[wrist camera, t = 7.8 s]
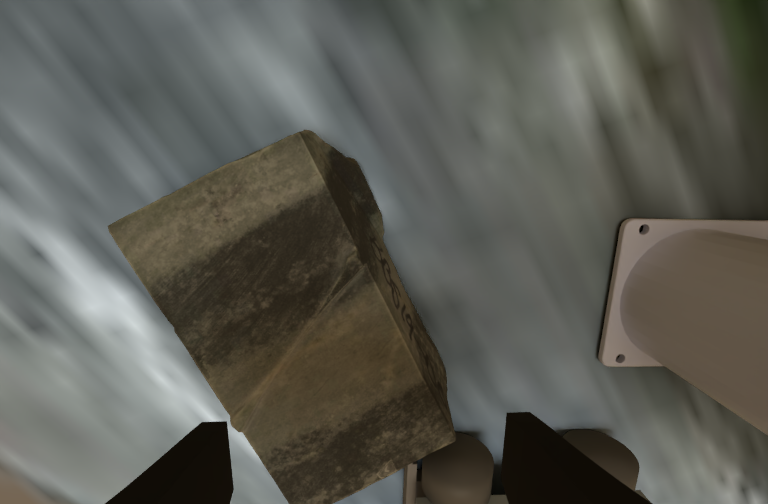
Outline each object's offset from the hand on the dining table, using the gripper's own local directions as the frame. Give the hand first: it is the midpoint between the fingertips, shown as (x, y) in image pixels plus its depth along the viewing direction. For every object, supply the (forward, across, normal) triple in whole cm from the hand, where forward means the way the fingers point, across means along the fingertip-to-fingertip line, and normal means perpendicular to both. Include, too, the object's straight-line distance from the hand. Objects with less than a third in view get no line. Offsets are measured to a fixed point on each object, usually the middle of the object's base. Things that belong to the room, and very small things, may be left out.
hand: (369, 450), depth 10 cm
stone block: (+10, +2, -1) cm, 11 cm away
